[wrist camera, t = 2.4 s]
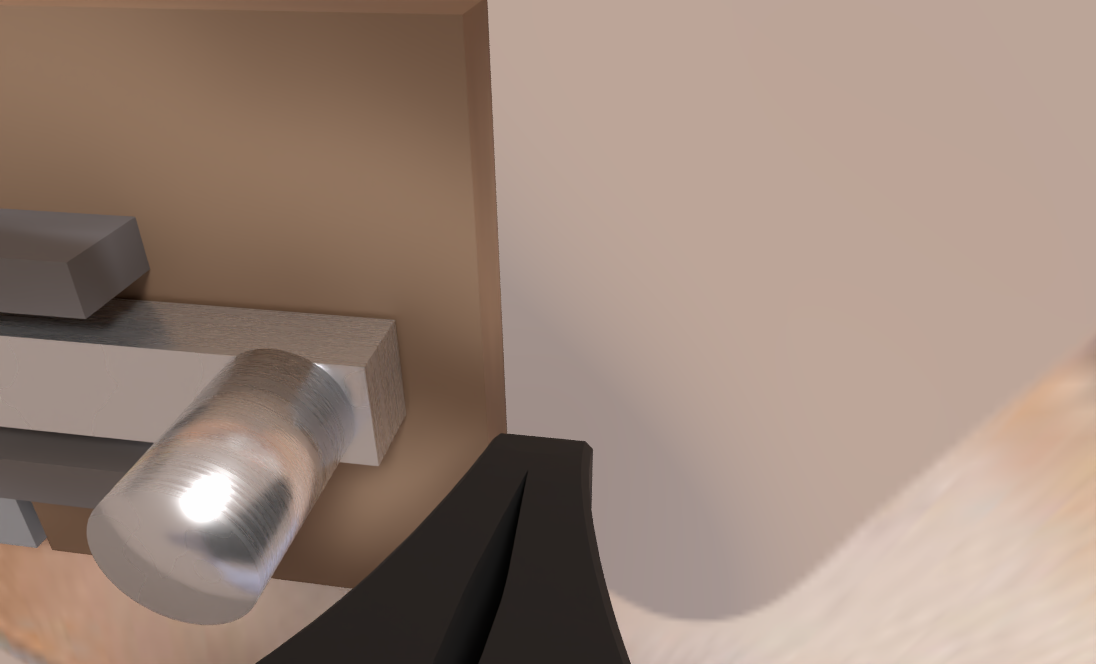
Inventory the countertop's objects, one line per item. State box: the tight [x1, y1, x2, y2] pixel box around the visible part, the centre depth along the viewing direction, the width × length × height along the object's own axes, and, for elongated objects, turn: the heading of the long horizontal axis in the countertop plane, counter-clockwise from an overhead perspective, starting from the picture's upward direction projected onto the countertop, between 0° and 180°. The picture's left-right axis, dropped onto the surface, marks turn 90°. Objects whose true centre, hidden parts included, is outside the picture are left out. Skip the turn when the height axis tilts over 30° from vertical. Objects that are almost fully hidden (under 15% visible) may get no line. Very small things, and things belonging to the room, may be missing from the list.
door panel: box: [0, 0, 507, 589], centre depth 15 cm, size 12×11×3 cm
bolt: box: [0, 298, 406, 625], centre depth 14 cm, size 2×9×5 cm, turn 90°
